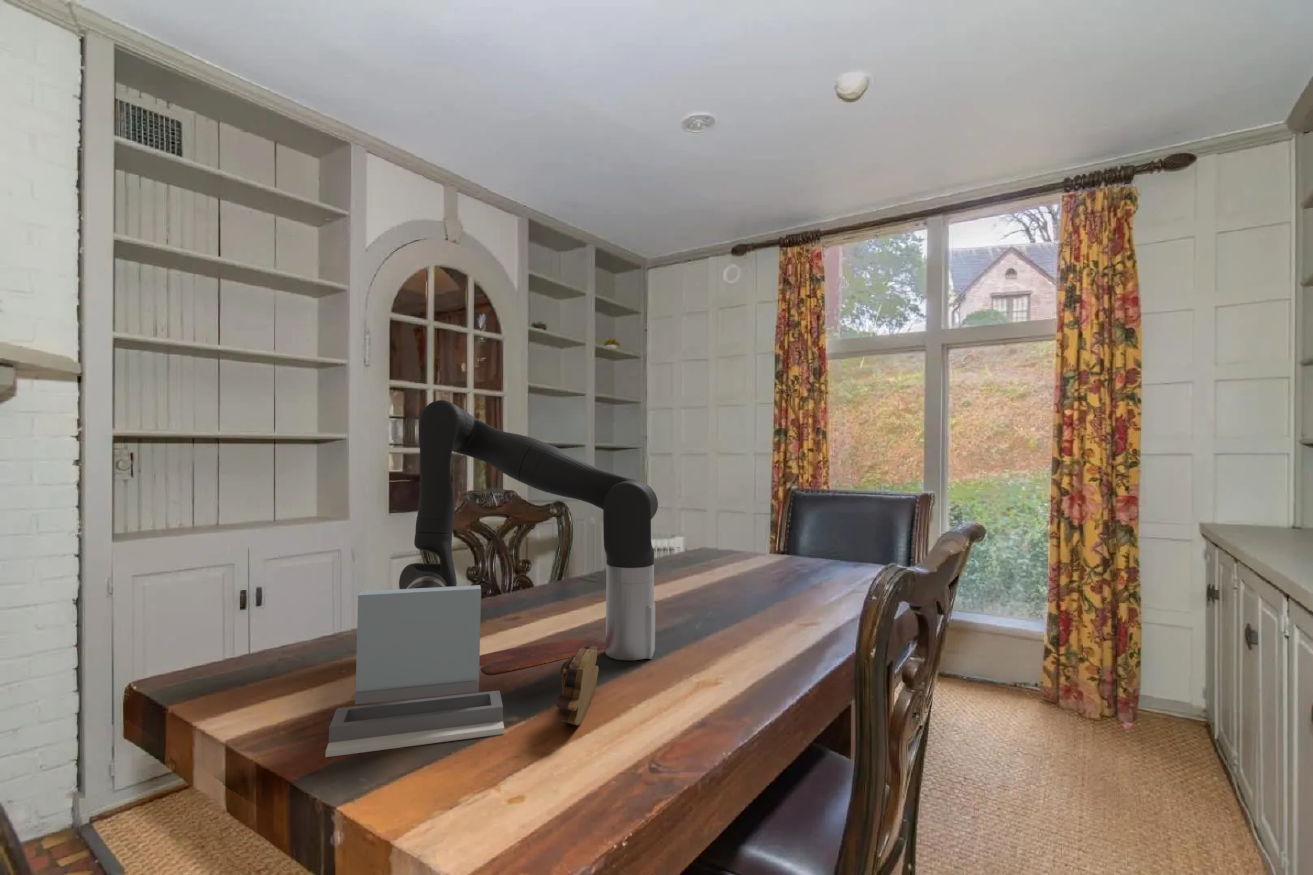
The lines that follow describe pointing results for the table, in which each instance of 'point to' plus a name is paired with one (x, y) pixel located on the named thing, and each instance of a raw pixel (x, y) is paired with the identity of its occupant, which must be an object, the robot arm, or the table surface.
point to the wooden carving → (577, 685)
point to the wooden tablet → (533, 655)
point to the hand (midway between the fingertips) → (421, 630)
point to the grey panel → (417, 643)
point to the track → (415, 722)
